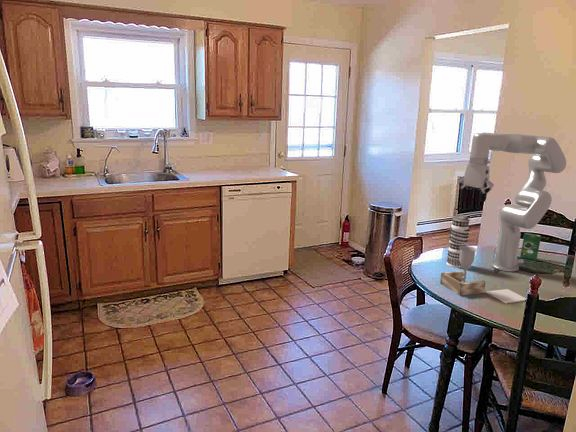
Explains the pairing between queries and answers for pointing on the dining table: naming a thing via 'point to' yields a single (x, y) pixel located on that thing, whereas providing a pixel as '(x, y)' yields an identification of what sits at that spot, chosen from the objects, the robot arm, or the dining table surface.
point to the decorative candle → (457, 239)
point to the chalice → (466, 258)
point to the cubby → (454, 283)
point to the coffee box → (530, 246)
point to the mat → (506, 296)
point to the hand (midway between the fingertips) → (472, 199)
